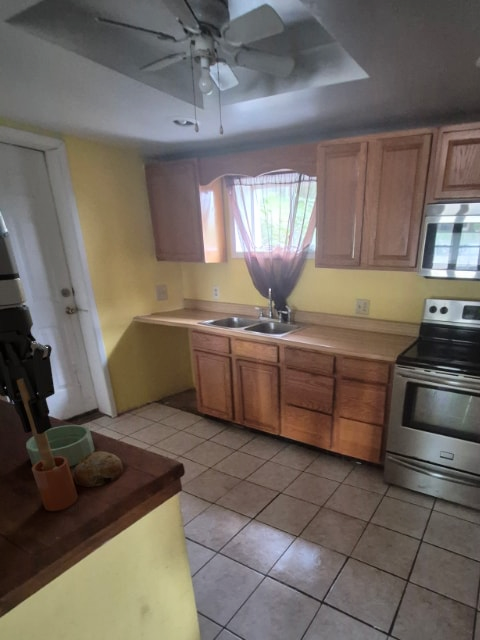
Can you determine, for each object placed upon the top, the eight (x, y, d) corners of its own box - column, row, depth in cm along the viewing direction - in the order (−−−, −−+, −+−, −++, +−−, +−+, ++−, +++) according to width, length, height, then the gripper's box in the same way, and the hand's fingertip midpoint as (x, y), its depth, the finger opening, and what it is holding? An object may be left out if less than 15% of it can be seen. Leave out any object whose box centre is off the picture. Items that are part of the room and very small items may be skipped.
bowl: (19, 469, 90) (11, 448, 88) (61, 442, 102) (55, 423, 100) (69, 475, 88) (63, 453, 86) (105, 446, 100) (101, 426, 98)
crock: (38, 512, 76) (23, 471, 72) (60, 493, 81) (48, 454, 77) (64, 515, 75) (51, 474, 71) (84, 496, 80) (74, 457, 77)
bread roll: (85, 505, 83) (83, 484, 78) (66, 472, 87) (63, 451, 82) (129, 485, 90) (130, 465, 85) (109, 456, 94) (109, 435, 89)
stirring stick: (43, 482, 75) (11, 381, 66) (51, 476, 77) (20, 377, 68) (56, 484, 75) (25, 382, 66) (63, 478, 77) (34, 378, 68)
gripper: (57, 304, 64) (87, 424, 74) (-18, 301, 66) (20, 418, 76) (21, 311, 57) (58, 443, 67) (-61, 307, 60) (-14, 436, 69)
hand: (38, 429), depth 71 cm, fingers closed on stirring stick, 2 cm apart
